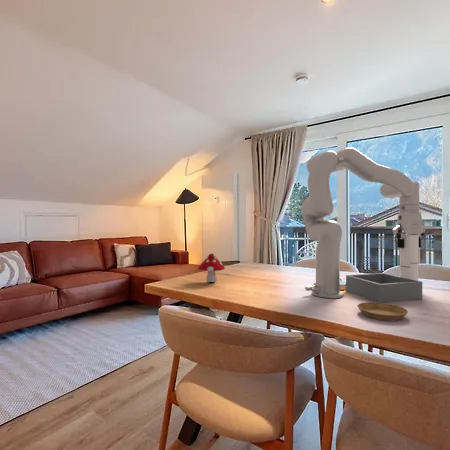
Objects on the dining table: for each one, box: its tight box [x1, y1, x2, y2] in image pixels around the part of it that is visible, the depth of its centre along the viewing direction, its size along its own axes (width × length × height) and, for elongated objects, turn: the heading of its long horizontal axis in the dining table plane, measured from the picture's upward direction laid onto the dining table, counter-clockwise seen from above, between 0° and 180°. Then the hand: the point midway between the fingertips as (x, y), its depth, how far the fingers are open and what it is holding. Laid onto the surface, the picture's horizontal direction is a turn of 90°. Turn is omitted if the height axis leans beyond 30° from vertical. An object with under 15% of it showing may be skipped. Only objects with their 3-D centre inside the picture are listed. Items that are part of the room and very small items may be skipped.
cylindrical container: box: [399, 234, 419, 281], centre depth 131 cm, size 7×7×25 cm
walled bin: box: [345, 272, 423, 303], centre depth 123 cm, size 20×20×7 cm
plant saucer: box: [356, 301, 408, 322], centre depth 97 cm, size 15×15×3 cm
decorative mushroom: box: [197, 253, 226, 283], centre depth 148 cm, size 14×14×15 cm
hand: (409, 247), depth 131 cm, fingers open, 8 cm apart
